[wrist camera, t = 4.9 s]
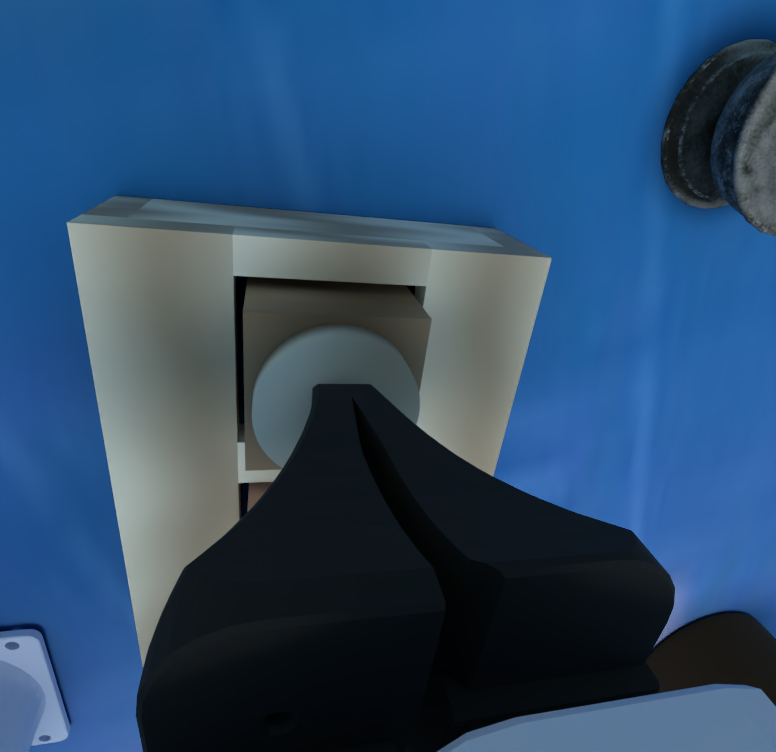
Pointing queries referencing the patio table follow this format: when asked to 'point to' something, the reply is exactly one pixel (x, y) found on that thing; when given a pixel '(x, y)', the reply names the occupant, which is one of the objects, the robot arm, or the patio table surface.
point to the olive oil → (717, 655)
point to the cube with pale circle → (323, 354)
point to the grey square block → (220, 350)
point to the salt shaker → (727, 134)
